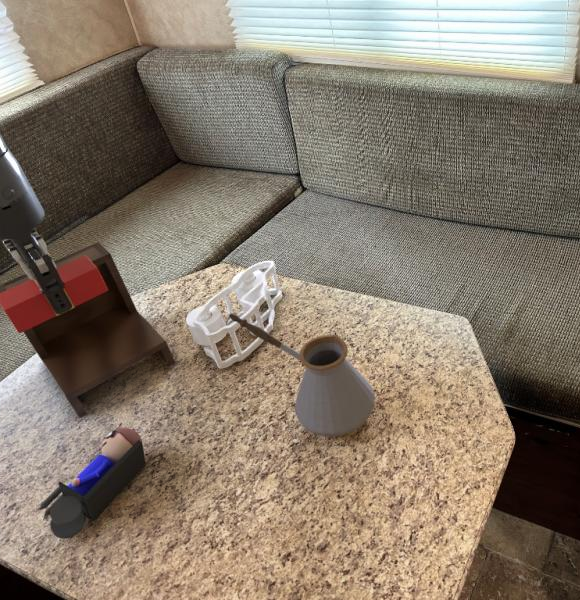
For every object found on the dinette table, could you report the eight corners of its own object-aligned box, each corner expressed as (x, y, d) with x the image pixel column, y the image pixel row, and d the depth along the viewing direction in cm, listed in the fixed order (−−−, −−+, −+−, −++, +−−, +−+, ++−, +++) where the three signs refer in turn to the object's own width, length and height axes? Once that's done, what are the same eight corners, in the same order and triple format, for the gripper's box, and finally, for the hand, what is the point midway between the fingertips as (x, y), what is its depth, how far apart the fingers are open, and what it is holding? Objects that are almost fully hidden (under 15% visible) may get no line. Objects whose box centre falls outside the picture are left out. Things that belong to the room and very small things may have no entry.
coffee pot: (390, 398, 90) (379, 322, 80) (352, 457, 82) (335, 381, 73) (273, 361, 98) (251, 288, 89) (229, 412, 90) (199, 338, 81)
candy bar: (19, 334, 79) (3, 310, 76) (9, 318, 82) (-6, 295, 79) (109, 291, 84) (97, 267, 82) (96, 277, 87) (85, 254, 85)
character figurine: (47, 534, 77) (135, 447, 87) (83, 555, 74) (171, 461, 84) (15, 498, 73) (112, 409, 83) (52, 518, 69) (149, 423, 79)
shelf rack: (79, 418, 92) (26, 335, 81) (45, 366, 102) (-6, 287, 91) (175, 362, 100) (139, 280, 89) (135, 319, 110) (98, 241, 99)
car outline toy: (259, 285, 114) (250, 253, 110) (305, 301, 110) (298, 268, 105) (181, 353, 102) (167, 320, 97) (230, 373, 97) (218, 340, 92)
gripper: (-53, 185, 74) (14, 293, 85) (-25, 226, 66) (47, 340, 77) (10, 162, 78) (68, 269, 89) (46, 198, 69) (104, 311, 80)
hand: (58, 301), depth 83 cm, fingers closed on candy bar, 4 cm apart
